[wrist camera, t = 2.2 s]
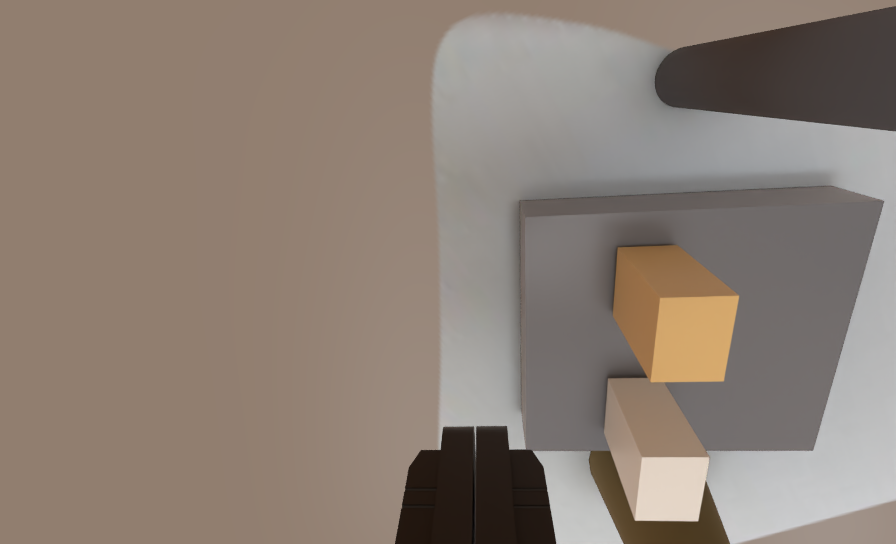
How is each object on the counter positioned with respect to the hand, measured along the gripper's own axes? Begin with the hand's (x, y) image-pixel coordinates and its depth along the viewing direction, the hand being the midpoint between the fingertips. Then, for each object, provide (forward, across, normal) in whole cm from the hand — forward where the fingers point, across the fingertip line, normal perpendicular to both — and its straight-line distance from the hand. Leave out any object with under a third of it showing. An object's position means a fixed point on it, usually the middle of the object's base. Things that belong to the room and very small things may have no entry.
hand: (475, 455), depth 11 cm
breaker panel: (+13, -9, +3) cm, 17 cm away
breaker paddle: (+10, -7, 0) cm, 12 cm away
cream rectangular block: (+10, -7, +7) cm, 14 cm away
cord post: (+14, -9, -8) cm, 18 cm away
